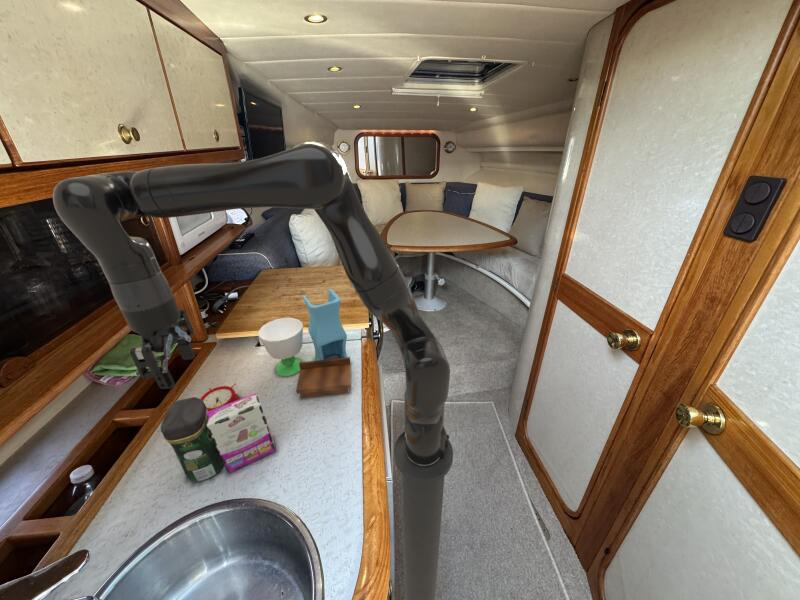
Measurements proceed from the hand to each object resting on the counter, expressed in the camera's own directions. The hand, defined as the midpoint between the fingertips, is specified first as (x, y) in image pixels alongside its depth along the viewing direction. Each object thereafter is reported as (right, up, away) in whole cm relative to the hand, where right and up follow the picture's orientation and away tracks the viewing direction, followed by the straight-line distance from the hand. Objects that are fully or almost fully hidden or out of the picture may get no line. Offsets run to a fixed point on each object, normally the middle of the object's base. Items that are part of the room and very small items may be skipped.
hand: (179, 372), depth 62 cm
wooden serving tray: (+20, -13, +38) cm, 45 cm away
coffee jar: (-4, -26, +15) cm, 30 cm away
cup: (+6, -9, +46) cm, 47 cm away
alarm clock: (-9, -18, +29) cm, 36 cm away
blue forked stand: (+19, -8, +49) cm, 53 cm away
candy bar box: (+6, -25, +17) cm, 31 cm away
